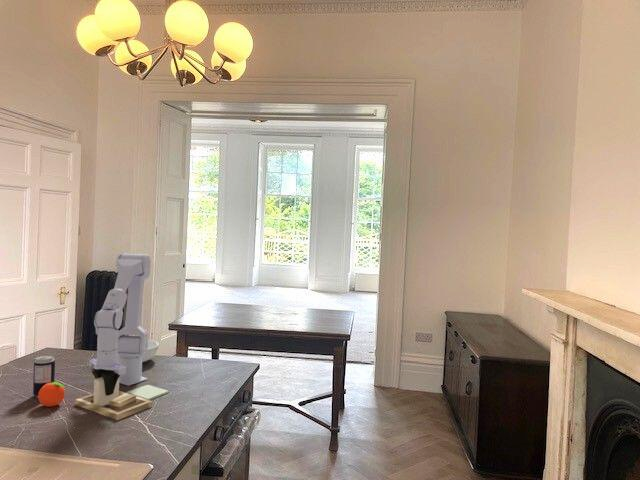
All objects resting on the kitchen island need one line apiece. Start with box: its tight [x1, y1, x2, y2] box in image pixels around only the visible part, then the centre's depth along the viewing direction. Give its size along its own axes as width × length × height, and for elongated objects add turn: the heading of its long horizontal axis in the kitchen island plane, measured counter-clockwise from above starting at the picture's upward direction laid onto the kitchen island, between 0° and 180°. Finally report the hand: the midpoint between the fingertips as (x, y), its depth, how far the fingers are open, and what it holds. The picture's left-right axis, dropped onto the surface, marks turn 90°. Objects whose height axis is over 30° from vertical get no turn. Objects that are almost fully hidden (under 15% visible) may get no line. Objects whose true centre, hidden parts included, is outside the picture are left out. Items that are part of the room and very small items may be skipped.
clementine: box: [37, 381, 67, 407], centre depth 138 cm, size 8×7×7 cm
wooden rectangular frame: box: [75, 390, 153, 421], centre depth 140 cm, size 19×12×2 cm, turn 61°
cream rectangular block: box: [93, 377, 120, 407], centre depth 141 cm, size 2×7×8 cm, turn 151°
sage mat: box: [125, 384, 170, 401], centre depth 150 cm, size 10×8×1 cm
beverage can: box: [32, 354, 56, 399], centre depth 145 cm, size 6×6×12 cm
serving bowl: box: [142, 339, 159, 363], centre depth 182 cm, size 21×21×7 cm
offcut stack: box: [108, 392, 138, 412], centre depth 137 cm, size 4×7×4 cm, turn 161°
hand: (106, 393), depth 141 cm, fingers closed on cream rectangular block, 2 cm apart
